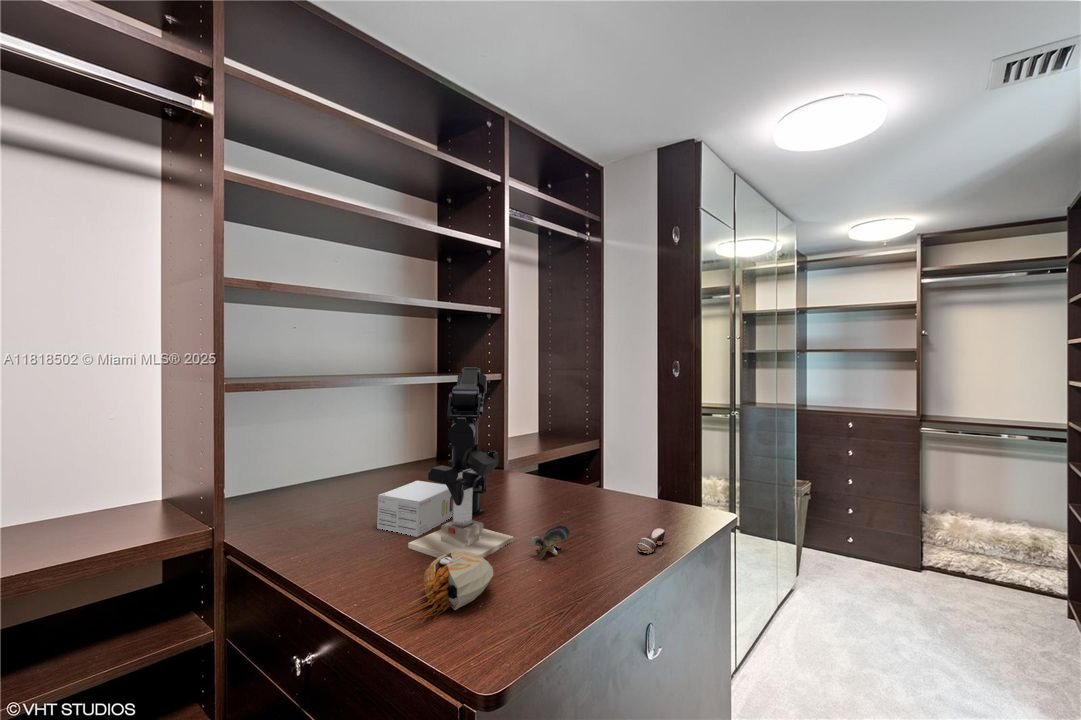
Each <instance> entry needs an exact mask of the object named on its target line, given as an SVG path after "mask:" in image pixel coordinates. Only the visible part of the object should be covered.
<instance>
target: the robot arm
mask: <svg viewBox="0 0 1081 720" xmlns="http://www.w3.org/2000/svg"><path fill="white" fill-rule="evenodd" d="M456 377H457V380H456V381H457V382H456V385H454V386H453V387H452V390H451V392H449V394H448V401H447V402H448V403H447V414H446V419H453V420H452V425H451V427H450V428H449V430H448V431H447V432H448V433H447V437H448V439H447V440H448V441H449V443H448V449H450V450H451V451H452V452H451V459H450V460H448V461H447V463H448V466H446V465H441V464H440V465H437V466H433V467H430V469H429V470H428V473H427V475H428V476H427V477H428V481H431V482H434V483H435V482H436V483H438V484H444V485H446V486H447V487H448V489H449V491H450V493H451V496H452V498H453V503H454V502H455V504H456V505H457V506H460V503H461V494H462V485H464V486H468V487H473V494H472V517H475V516H477V515H479V514H482V513H483V512H485V509H483V508H481V494H483V495H484V493H487V476H486V475H489V474H493V472H494V470H496V468H497V467H498V466H499V465H500V464H499V460H500V458H499V452H497V451H496V450H491V451H489V452H483V451H481V445H480V443H478V441H479V440H478V437H479V435H478V434H479V428H478V427H479V419H480V418H481V416H482V415H484V414H483V413H484V399H485V394H487V388H488V387H487V385H488V383H487V380H488V379H487V376H486V374H484V373H483V372H481V368H479V367H473V366H471V367H468V366H466V367H465V366H464V367H462V368H461V371H460V373H459V374H457V376H456Z"/></svg>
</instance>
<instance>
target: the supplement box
mask: <svg viewBox="0 0 1081 720" xmlns="http://www.w3.org/2000/svg"><path fill="white" fill-rule="evenodd" d="M453 506H454V500H453V498H452V496H451V493H450V491H449V489H448V487H447V486H446V484H444V483H438V482H436V483H435V482H432V481H431V482H430V481H423V480H414V481H413V482H412V481H411V482H410V483H406V484H404V485H402V486H399V487H396V488H394V489H390V490H389V491H386V492H382V493H380V494H378V495H377V516H376V517H377V518H376V519H377V521H376V522H377V523H376V524H377V525H376V528H377V529H378V530H382V529H383V530H382V531H386V530H388V531H387V532H391V531H393V532H392V533H396V532H398V533H397V534H401V533H402V534H401V535H405V534H407V535H406V536H410V535H411V537H416V538H418V537H419V536H422V535H424V534H425V533H427V532H429V531H432V528H433V529H435V528H436V527H438V526H441V523H442V524H443V523H445V522H447V521H449V520H451V519H452V518H453ZM451 517H452V518H451ZM450 518H451V519H450ZM448 519H449V520H448ZM446 520H447V521H446ZM423 533H424V534H423Z"/></svg>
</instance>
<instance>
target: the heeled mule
mask: <svg viewBox="0 0 1081 720" xmlns="http://www.w3.org/2000/svg"><path fill="white" fill-rule="evenodd" d="M666 531H667V530H666V529H665V528H663V527H657V528H655V529H654V530H652V531H651V532H650V534H649V535H648V536H647V537H642V538H640V539H639V541H638V543H637V545H636V546H637V550H638V549H639V550H640V551H648V550H642V549H640V548H639V547H638V545H639V544H641V545H644V546H646V547H648V548H649V549H650V550H653V549H654V548H655V549H656V547H657V545H656V543H657V541H663V540H664V539H665V535H666ZM663 542H664V541H663Z"/></svg>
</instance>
